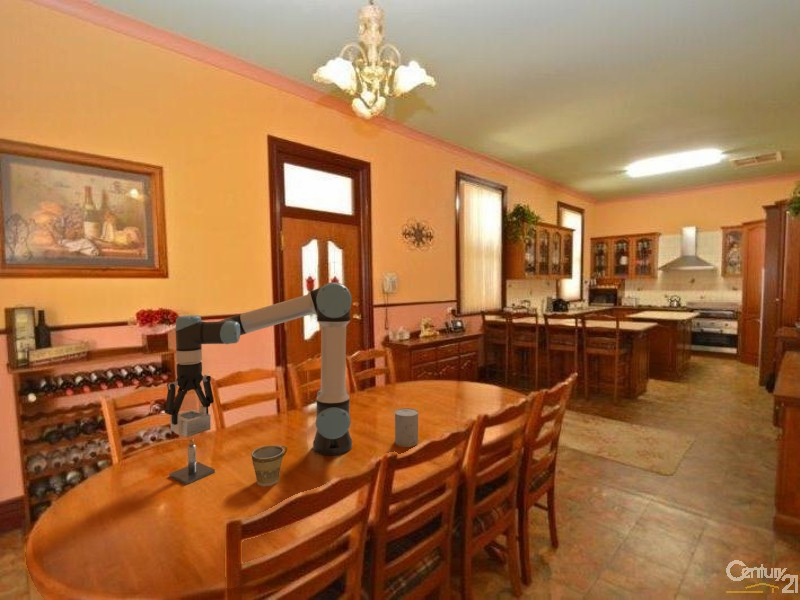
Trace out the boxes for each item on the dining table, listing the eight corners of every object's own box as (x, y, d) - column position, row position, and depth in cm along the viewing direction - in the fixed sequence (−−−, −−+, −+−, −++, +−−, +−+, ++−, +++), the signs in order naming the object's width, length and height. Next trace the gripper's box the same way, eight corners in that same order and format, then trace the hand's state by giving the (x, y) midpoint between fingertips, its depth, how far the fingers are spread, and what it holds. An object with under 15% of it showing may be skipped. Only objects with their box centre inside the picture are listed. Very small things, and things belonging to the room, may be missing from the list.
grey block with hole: (210, 429, 135) (210, 414, 135) (187, 437, 128) (186, 421, 128) (193, 423, 140) (193, 409, 140) (170, 430, 134) (170, 415, 133)
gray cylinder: (421, 439, 164) (422, 410, 164) (412, 448, 156) (412, 417, 155) (400, 435, 168) (400, 407, 168) (390, 444, 160) (390, 414, 159)
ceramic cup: (266, 492, 124) (265, 461, 123) (245, 483, 129) (244, 453, 128) (297, 475, 135) (297, 446, 134) (277, 467, 140) (276, 439, 139)
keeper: (214, 472, 137) (214, 437, 136) (185, 484, 128) (184, 448, 127) (198, 464, 142) (197, 431, 141) (169, 476, 134) (168, 441, 133)
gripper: (212, 355, 144) (213, 418, 145) (150, 366, 126) (152, 437, 127) (224, 358, 140) (225, 422, 141) (162, 369, 122) (164, 442, 123)
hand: (190, 429), depth 134 cm, fingers closed on grey block with hole, 8 cm apart
